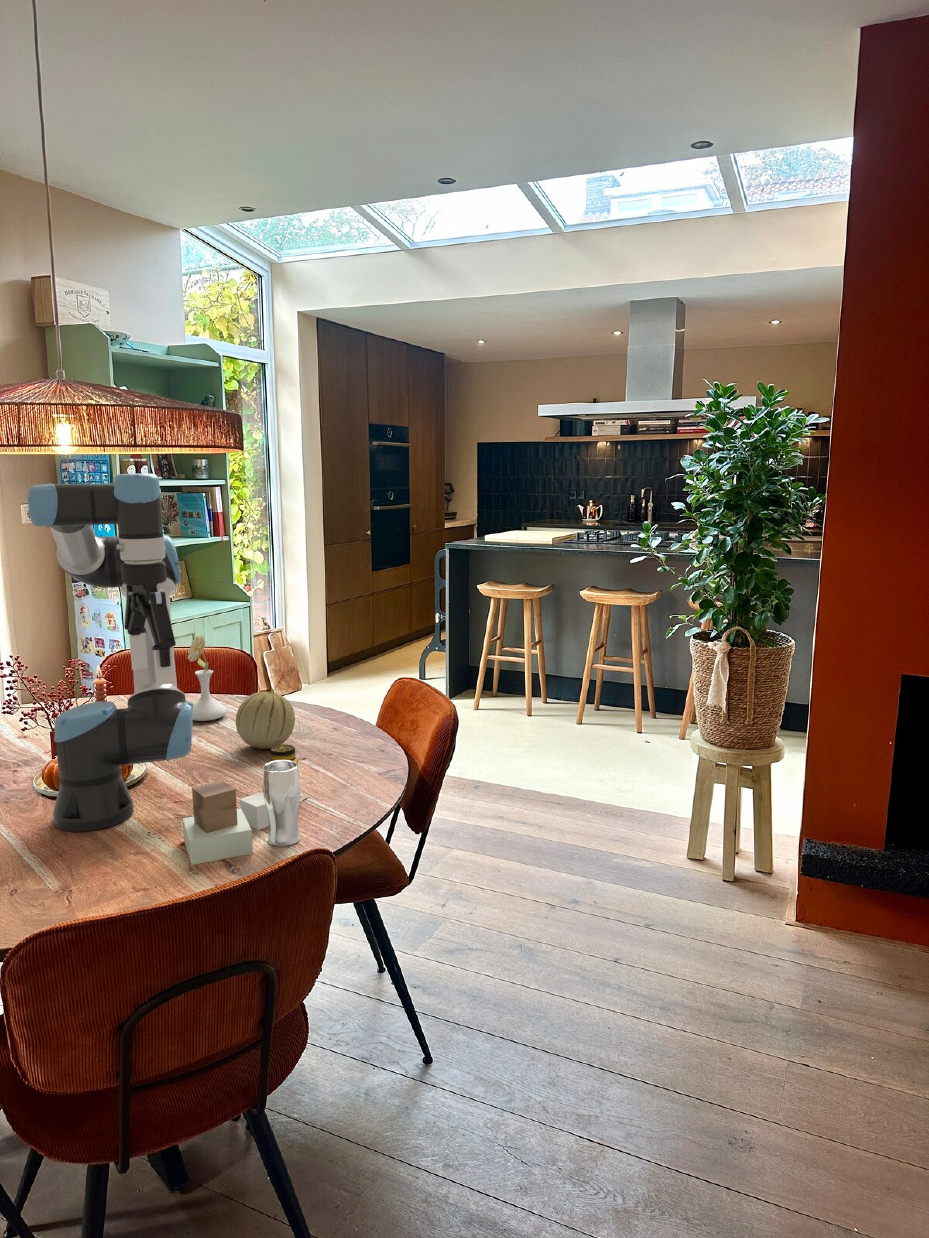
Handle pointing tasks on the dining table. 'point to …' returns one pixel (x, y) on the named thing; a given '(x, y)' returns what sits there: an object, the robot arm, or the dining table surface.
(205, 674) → the flower in vase
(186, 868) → the dining table surface
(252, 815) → the grey block
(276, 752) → the condiment
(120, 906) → the dining table surface
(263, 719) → the cantaloupe
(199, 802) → the walnut block
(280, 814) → the beer glass
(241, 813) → the pedestal block
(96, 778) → the robot arm
